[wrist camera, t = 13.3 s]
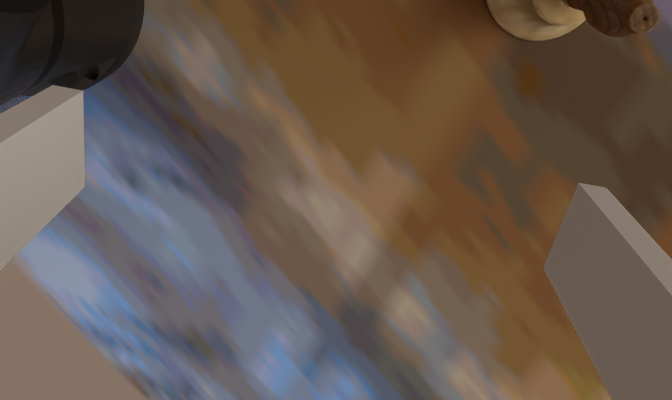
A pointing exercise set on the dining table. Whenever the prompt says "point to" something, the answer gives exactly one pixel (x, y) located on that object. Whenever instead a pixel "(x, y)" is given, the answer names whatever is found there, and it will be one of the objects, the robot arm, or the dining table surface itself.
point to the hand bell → (573, 17)
